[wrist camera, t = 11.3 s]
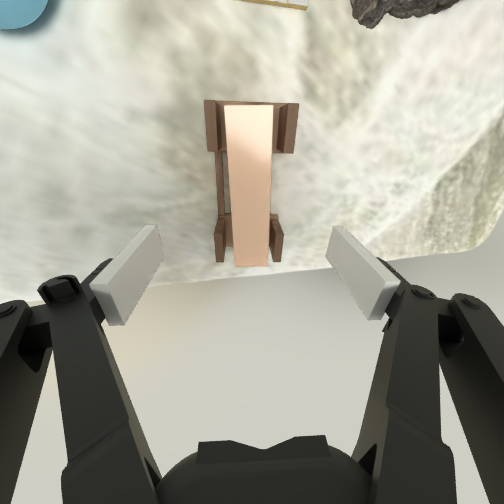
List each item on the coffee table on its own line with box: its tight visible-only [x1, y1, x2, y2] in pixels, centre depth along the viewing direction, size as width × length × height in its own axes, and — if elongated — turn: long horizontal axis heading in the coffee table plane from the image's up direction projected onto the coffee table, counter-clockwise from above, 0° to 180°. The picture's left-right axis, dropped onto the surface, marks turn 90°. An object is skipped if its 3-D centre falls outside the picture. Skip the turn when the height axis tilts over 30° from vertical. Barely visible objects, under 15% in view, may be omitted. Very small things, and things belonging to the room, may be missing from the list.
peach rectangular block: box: [224, 105, 273, 267], centre depth 30 cm, size 5×20×8 cm, turn 1°
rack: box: [204, 100, 299, 262], centre depth 31 cm, size 10×22×7 cm, turn 178°
